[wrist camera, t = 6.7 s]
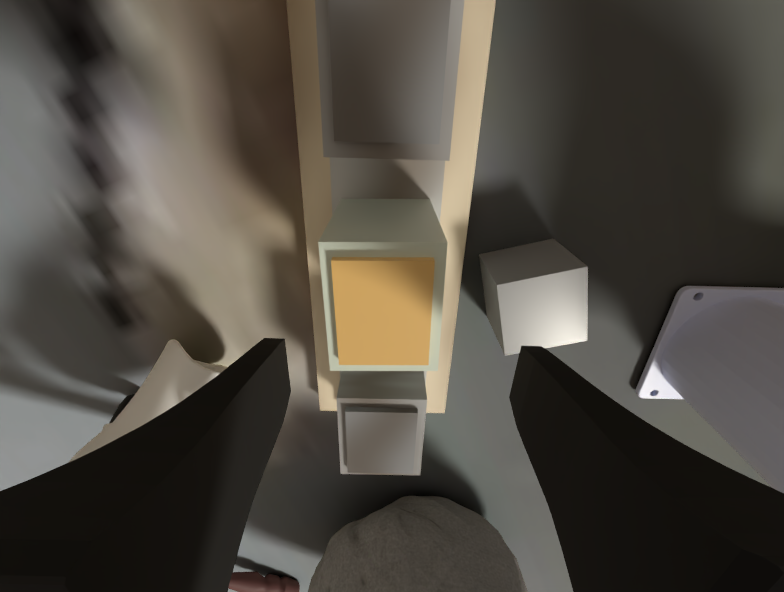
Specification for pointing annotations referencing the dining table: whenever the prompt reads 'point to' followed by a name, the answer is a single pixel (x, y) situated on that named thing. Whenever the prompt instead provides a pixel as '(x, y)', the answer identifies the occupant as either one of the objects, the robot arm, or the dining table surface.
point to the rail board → (387, 177)
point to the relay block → (535, 295)
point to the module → (383, 285)
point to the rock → (418, 552)
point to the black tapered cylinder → (262, 583)
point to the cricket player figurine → (156, 394)
